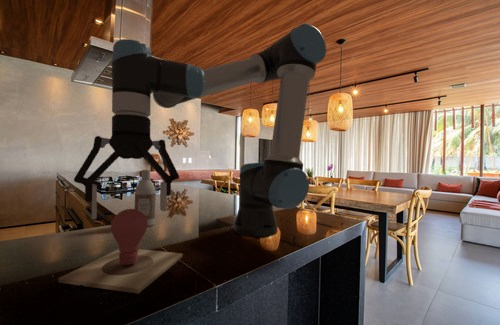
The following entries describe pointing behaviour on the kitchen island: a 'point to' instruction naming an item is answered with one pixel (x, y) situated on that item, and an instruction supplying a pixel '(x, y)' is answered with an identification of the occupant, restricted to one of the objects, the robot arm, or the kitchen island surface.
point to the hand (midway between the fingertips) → (131, 213)
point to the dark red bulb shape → (129, 234)
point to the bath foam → (146, 197)
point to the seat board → (123, 271)
